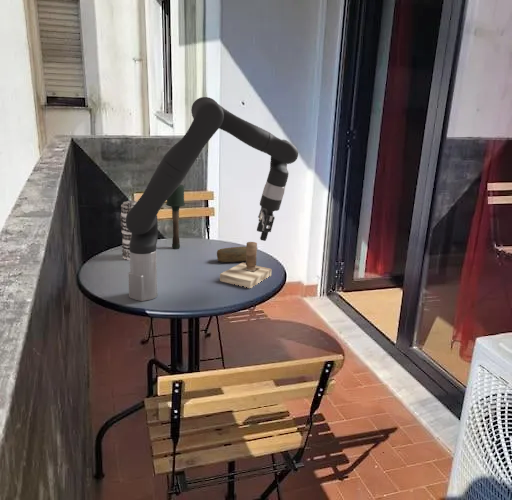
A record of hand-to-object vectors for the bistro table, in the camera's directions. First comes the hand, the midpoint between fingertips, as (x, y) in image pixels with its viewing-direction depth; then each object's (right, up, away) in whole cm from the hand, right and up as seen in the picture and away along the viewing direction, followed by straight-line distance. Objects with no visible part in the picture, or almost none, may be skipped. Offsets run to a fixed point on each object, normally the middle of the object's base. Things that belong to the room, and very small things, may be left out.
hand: (261, 235), depth 184 cm
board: (-6, -17, +13) cm, 22 cm away
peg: (-4, -16, +16) cm, 23 cm away
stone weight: (-12, -11, +34) cm, 37 cm away
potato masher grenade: (-40, -5, +49) cm, 63 cm away
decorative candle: (-57, -9, +33) cm, 67 cm away
